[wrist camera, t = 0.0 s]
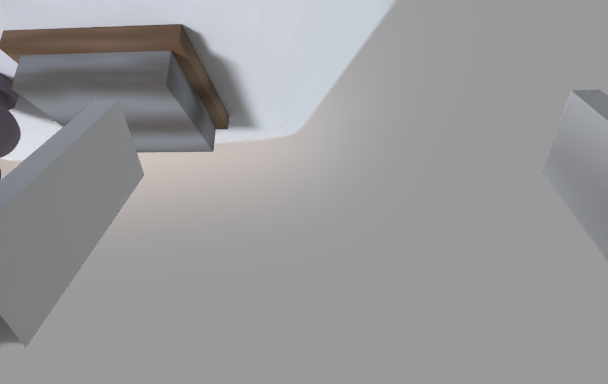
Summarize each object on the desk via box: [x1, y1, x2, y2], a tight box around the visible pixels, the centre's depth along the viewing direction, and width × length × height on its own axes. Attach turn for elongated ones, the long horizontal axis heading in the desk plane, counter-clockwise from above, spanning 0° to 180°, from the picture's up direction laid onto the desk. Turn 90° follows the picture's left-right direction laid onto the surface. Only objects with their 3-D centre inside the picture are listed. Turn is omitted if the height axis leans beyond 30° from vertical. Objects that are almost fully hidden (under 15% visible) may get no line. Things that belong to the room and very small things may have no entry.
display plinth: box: [0, 25, 229, 152], centre depth 37 cm, size 14×14×4 cm
